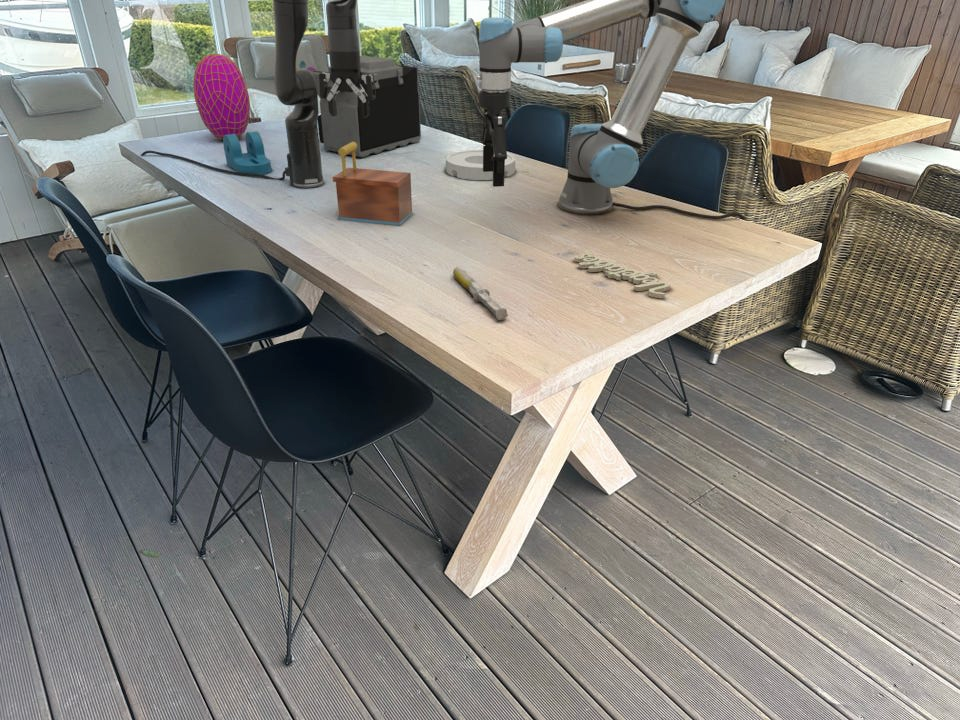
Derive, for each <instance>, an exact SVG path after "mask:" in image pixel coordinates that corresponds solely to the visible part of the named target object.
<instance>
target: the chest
mask: <svg viewBox="0 0 960 720" xmlns="http://www.w3.org/2000/svg"><path fill="white" fill-rule="evenodd" d="M335 191H336V198H337V199H336V200H337V210H338V219H339V220H342V221H353V222H361V223H373V224H380V225H381V224H382V225H391V226H401V225H402V224H403V223H404V222H405V221H407V220H408V218H411V216H412V215H413V200H412V199H413V198H412V179H411V178H409V179H408V180H407V181H406V182H404V183H403V184H402V185H400V186H399V187H398V188H397V187H386V186H375V185H363V184H352V183H341V182H335Z"/></svg>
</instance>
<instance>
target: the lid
mask: <svg viewBox="0 0 960 720" xmlns="http://www.w3.org/2000/svg"><path fill="white" fill-rule="evenodd" d="M356 149H357V144H356V143H355V142H351V143H349V144H347V145H345V146H344V147H342V148H340V149H339V150H338V152H337V153H338V155H339V156H340V157H341V165H342V171H340V172H339V173H337V174H335V175H334V176H332V182H334V183H336V182H341V183H352V184H363V185H375V186H386V187H397V188H398V187H399V186H400V185H402V184H403V183H404V182H406V181H407V180H408V179H409V178H411V175H412V174H411V172H404V171H394V170H393V171H392V170H383V169H382V170H381V169H370V168H368V169H367V168H360V167H359V168H357V156H355V150H356ZM351 152H352V155H351V158H352V160H351V161H352V167H347V165H346V156H347V155H348V154H349V153H351Z"/></svg>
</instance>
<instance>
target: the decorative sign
mask: <svg viewBox="0 0 960 720" xmlns="http://www.w3.org/2000/svg"><path fill="white" fill-rule="evenodd" d="M574 262H575V263H578V269H588V270H587V272H588V273H598V272H603V273H604V276H606V277H607V278H608V279H614V280H617V281H621V279H622V280H627V281H628V282H630V283H633V284H634V285H633V291H636V292H643V291H647V290H648V293H647V294H648V296H649V297H652V298H656V299H664V298H665V295H666V292H668V291H669V290H670V289H671V283H670V282H668V281H659V279H658V272H657V271H648V272H639V271H637V270H634V269H630V268H628V267H627V266H626V267H625V266H624V265H619V264H618V263H615V262H611V261H610V260H604V258H601V257H598V256H596V255H592V254H590V253H587V252H586V253H582V254H581V255H580V256H578V255H575V256H574Z"/></svg>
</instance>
